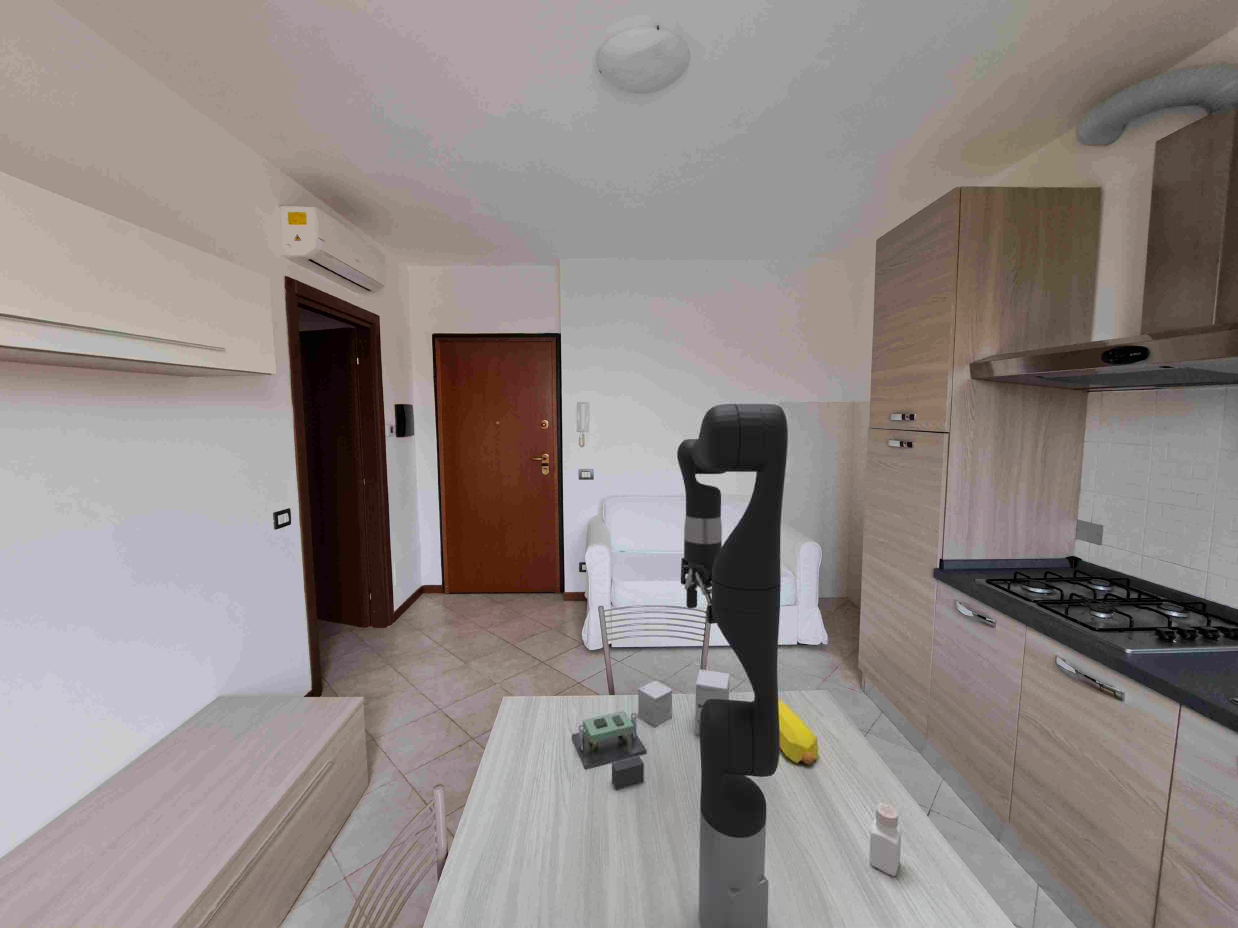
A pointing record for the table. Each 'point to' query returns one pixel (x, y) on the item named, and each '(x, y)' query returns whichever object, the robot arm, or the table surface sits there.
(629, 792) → the table surface
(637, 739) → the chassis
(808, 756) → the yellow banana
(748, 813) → the robot arm
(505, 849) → the table surface
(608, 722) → the board
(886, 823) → the salt shaker
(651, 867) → the table surface
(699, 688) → the supplement box
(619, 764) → the block
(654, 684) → the product box
